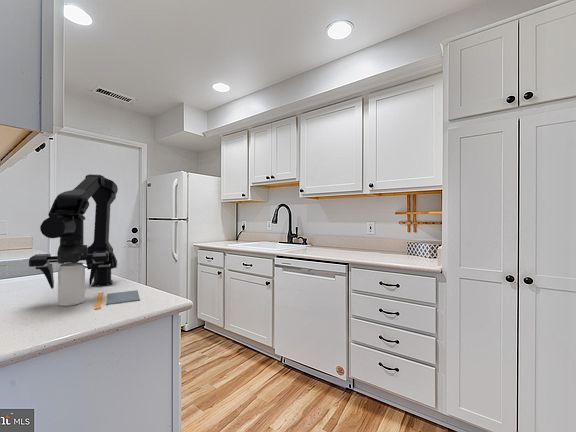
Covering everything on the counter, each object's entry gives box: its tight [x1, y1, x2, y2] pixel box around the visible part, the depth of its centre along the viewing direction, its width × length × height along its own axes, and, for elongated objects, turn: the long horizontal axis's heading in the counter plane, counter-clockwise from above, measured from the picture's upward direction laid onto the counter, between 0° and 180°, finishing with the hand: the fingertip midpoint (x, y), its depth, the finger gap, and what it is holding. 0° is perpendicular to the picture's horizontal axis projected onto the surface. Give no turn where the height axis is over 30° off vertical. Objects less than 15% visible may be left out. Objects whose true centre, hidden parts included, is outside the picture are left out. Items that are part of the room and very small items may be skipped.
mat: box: [105, 289, 141, 306], centre depth 92 cm, size 12×9×1 cm
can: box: [57, 261, 86, 307], centre depth 86 cm, size 6×6×12 cm
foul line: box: [93, 291, 104, 311], centre depth 89 cm, size 18×2×1 cm, turn 31°
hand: (71, 286), depth 86 cm, fingers open, 9 cm apart
